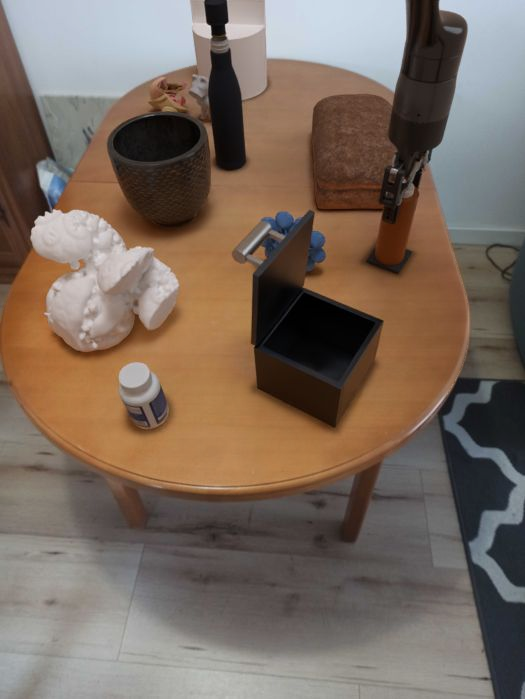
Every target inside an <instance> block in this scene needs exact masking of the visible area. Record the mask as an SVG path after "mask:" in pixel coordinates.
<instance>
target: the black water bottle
mask: <svg viewBox="0 0 525 699" xmlns="http://www.w3.org/2000/svg"><path fill="white" fill-rule="evenodd" d="M204 6H205V15H206V23H207V24H208V25H210V26H211V36H212V38H211V41H210V44H211V50H210V56H211V65H212V67H211V72H210V77H209V84H208V100H209V108H210V111H209V114H210V121H211V122H210V124H211V130H212V140H213V148H214V156H215V162H216V166H217V168H220V169H222V170H224V171H236V170H239V169H241V168H243V167H244V166H245V165H246V163H247V155H246V154H247V153H246V138H245V126H244V113H243V111H244V110H243V100H242V96H241V90H240V86H239V82H238V79H237V76H236V74H235V71H234V69H233V66H232V59H231V50H230V48H229V44H228V43H229V40H228V38H227V36H225V35H226V30H225V24H227V23H228V22H229V19H228V7H227V0H205V1H204Z"/></svg>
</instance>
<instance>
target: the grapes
mask: <svg viewBox="0 0 525 699" xmlns="http://www.w3.org/2000/svg"><path fill="white" fill-rule="evenodd" d="M302 217H303V216H298V217H297V218H295V219H294V216H293V215H292V214H291V213H289V212H288V211H284V210H283V211H278V212H277V213H276V214H275V216H274V218H273V217H271V216H264V217H263V218H261V219H260V222H261V221H265V222H267V223H269V224H270V226H271V227H272V230H273V231H276V232H278V233H280V234H282V235H284V236H286V235H287V234H288V233H289V232H290V231H291V230H292V229H293V228H294V226H295V225H296V224H297V223H298V222H299V221H300V220H301V218H302ZM279 243H280V242H279V241H277V240H275V239H272V238H270V237H268V238H267V239H266V240H265V241H264V243H263V244H262V245H261V246H260V247H261V248H264V256H265V258H267V257H268V256H269V255H270V254H271V252H272V251H273V250H274V249H275V248H276V247H277V246H278V245H279ZM325 244H326V237H325V236H324V234H323V233H322V232H320V231H318V230H314V227H313V228H312V235H311V241H310V248H309V255H308V261H307V268H306V273H307V272H311V271H313V270H314V268H315V267H316V264H321V263H323V262H324V261H326V257H327V253H326V251H325V249H324V247H325Z"/></svg>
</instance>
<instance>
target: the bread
mask: <svg viewBox="0 0 525 699" xmlns="http://www.w3.org/2000/svg"><path fill="white" fill-rule="evenodd" d="M392 105H393V104H391V103H390V102H389V100H387V99H386V98H384V97H383V96H380V95H376V94H371V93H348V94H347V93H346V94H345V93H344V94H335V95H334V94H333V95H330V96H327V97H323V98H321V100H319V101H317V102H316V103H315V105H314V106H313V108H312V109H313V110H312V120H311V142H312V143H311V144H312V155H313V157H312V158H313V184H314V196H315V201H316V205H317V208H318V209H322V210H347V209H349V210H350V209H351V210H352V209H371V210H372V209H379V210H380V209H381V210H383V205H381V204H379V198H380V193H381V188H382V183H383V177H384V172H385V168H386V167H387V165H389V166H392V159H393V156H394V153H395V152H398V150H397V148H396V147H395V146H394V145H393V144H392V143H391V141H390V140H389V138H388V129H389V123H390V117H391V111H392ZM403 180H404V181H405V179H403Z"/></svg>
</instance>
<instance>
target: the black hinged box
mask: <svg viewBox="0 0 525 699" xmlns="http://www.w3.org/2000/svg"><path fill="white" fill-rule="evenodd" d="M384 323H385V320H384V319H381V318H379V317H376V316H373V315H371V314H369V313H366V312H364V311H361V310H359V309H357V308H354V307H353V306H350V305H347V304H344V303H342V302H340V301H338V300H335V299H332V298H331V297H327V296H325V295H323V294H321V293H318V292H316V291H313V290H311V289H308V288H307V287H304V286H303V287H302V288H301V290H300V291H299V292H298V293H297V295H296V296H295V297H294V299H293V300H292V301H291V302H290V304H289V305H288V306H287V307H286V309H285V310H284V311H283V313H282V314H281V315H280V316H279V318H278V319H277V320H276V321H275V323H274V324H273V325H272V327H271V328H270V329H269V330H268V332H267V333H266V334H265V335H264V337H263V338H262V339H261V341H260V342H259V343H258V344H257V346H254V345H253V346H254V347H253V356H254V367H255V378H256V388H257V389H258V390H259V391H261V392H263V393H265V394H267V395H269V396H271V397H273V398H275V399H277V400H278V401H281V402H283V403H285V404H287V405H289V406H290V407H292V408H294V409H296V410H298V411H301V412H303V413H304V414H306V415H308V416H311V417H312V418H314V419H317V420H318V421H320V422H322V423H324V424H326V425H328V426H330V427H332V428H334V429H336V428H337V426H338V424H339V422H340V421H341V419H342V417H343V416H344V414H345V413H346V412H347V409H348V407H349V406H350V405H351V403H352V401H353V399H354V398H355V396H356V394H357V392H358V391H359V389H360V387H361V386H362V384H363V383H364V381H365V379H366V378H367V376H368V375H369V372H370V371H371V370H372V368H373V366H374V364H375V362H376V361H375V360H376V356H377V352H378V348H379V344H380V340H381V335H382V331H383V327H384Z"/></svg>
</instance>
